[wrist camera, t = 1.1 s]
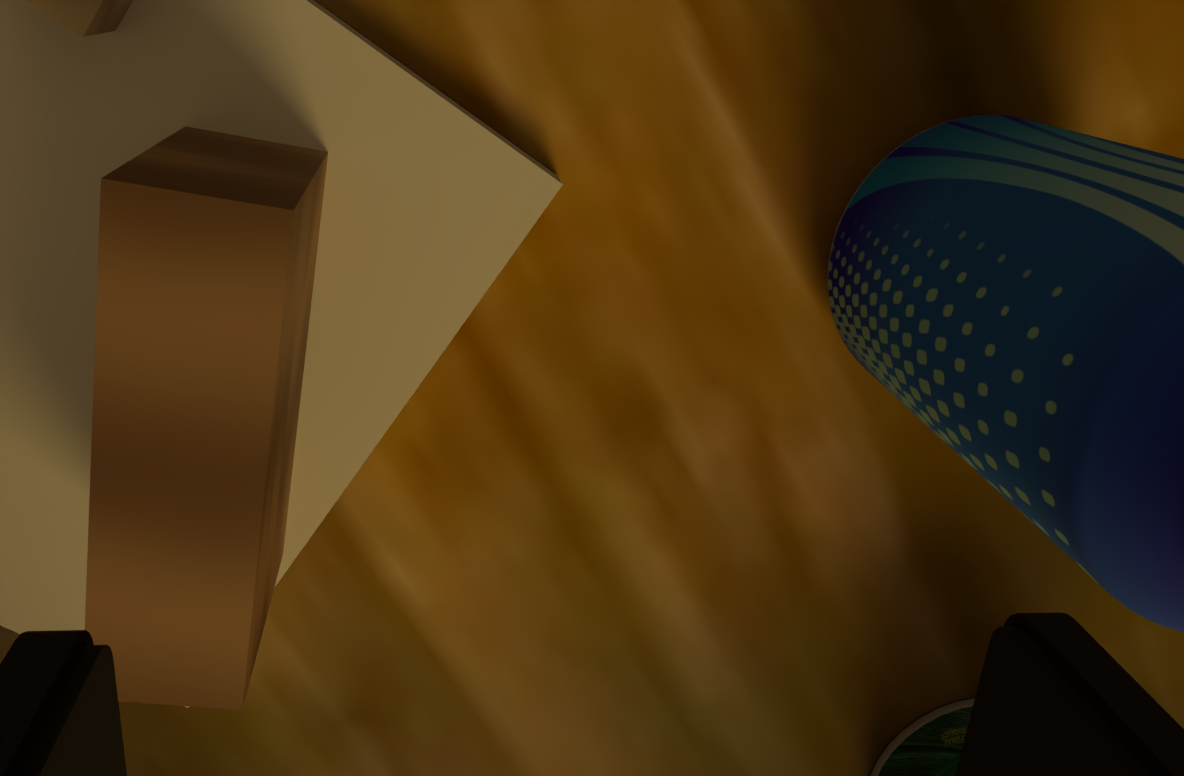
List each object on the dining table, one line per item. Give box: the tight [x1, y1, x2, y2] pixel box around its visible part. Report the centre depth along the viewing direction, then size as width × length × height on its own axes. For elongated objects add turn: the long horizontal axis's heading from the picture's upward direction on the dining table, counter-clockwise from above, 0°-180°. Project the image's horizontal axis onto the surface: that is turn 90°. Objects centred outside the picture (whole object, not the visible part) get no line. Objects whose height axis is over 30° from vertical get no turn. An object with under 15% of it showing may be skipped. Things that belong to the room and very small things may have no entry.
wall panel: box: [0, 0, 563, 708], centre depth 27 cm, size 20×18×1 cm
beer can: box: [828, 115, 1184, 632], centre depth 24 cm, size 8×8×16 cm
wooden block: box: [85, 126, 328, 710], centre depth 25 cm, size 12×4×7 cm, turn 168°
